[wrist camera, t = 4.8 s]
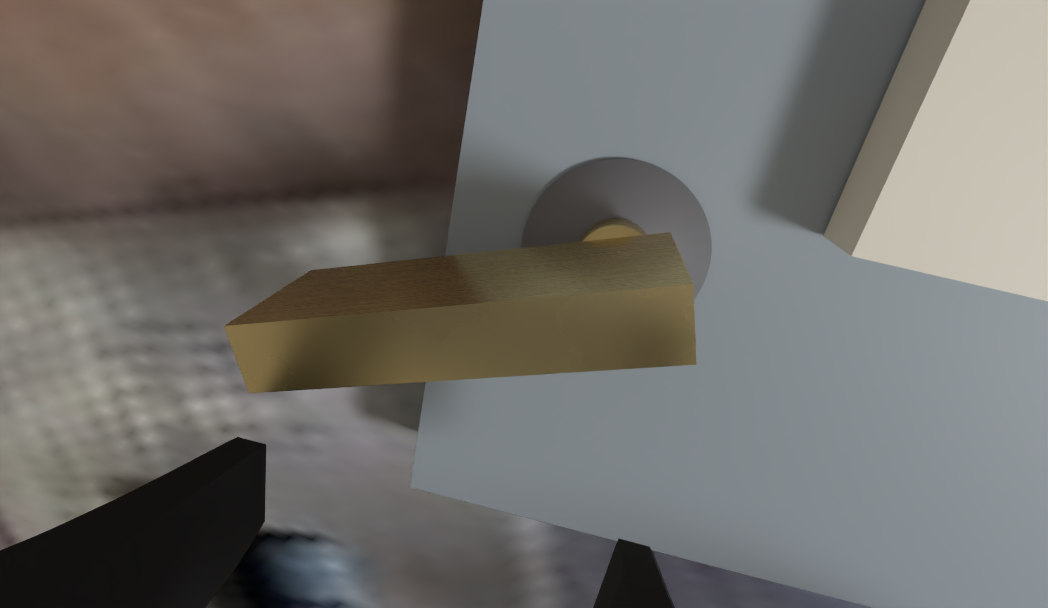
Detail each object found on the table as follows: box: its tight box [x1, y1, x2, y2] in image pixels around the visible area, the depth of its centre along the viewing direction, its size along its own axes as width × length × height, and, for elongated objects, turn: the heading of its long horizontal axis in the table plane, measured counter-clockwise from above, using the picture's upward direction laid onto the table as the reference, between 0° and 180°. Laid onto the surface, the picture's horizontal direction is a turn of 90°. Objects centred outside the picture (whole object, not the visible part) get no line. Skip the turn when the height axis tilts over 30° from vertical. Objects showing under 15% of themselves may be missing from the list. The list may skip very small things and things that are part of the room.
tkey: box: [224, 218, 697, 393], centre depth 11 cm, size 8×2×4 cm, turn 98°
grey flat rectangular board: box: [410, 0, 1048, 608], centre depth 14 cm, size 15×19×3 cm
